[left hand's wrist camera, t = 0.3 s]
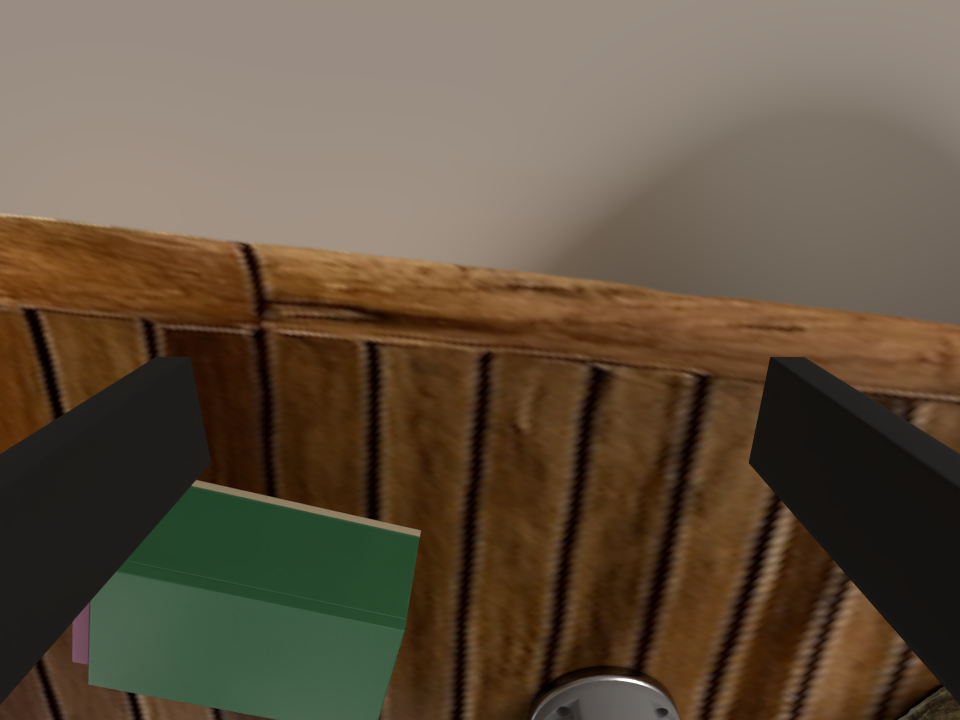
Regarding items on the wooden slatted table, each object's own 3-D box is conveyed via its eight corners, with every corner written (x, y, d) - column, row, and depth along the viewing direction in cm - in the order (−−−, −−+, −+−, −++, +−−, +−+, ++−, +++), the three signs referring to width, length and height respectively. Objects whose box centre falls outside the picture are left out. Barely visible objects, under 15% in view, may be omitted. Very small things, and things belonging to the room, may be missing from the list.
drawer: (74, 562, 47) (-10, 646, 39) (75, 467, 44) (-17, 538, 36) (360, 621, 50) (337, 712, 42) (382, 535, 46) (362, 616, 38)
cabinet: (167, 577, 49) (87, 685, 39) (176, 475, 45) (90, 566, 35) (393, 624, 51) (373, 737, 41) (420, 530, 47) (405, 631, 37)
